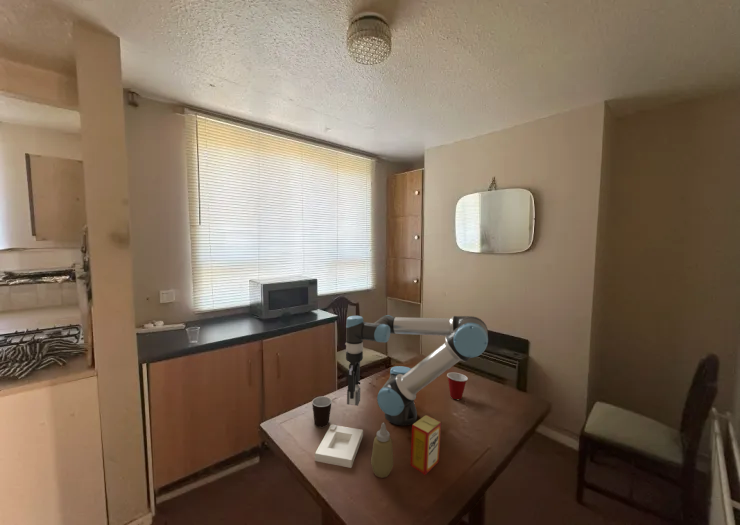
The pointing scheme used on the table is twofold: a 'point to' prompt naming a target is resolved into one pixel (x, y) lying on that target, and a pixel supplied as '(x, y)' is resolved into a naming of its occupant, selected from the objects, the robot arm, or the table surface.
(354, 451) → the socket plate
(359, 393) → the plug
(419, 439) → the baking soda box
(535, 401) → the table surface
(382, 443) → the squeeze bottle
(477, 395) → the table surface
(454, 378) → the plastic cup
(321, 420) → the coffee mug
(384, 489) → the table surface
